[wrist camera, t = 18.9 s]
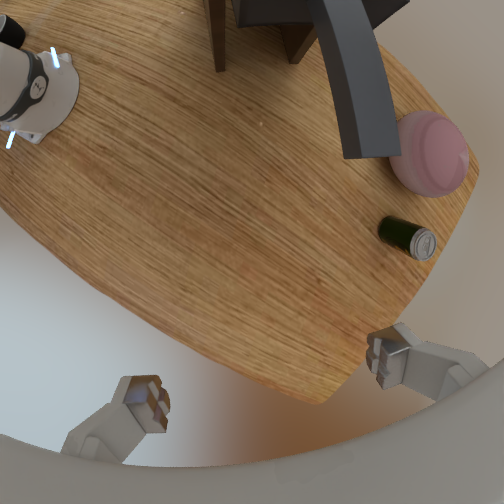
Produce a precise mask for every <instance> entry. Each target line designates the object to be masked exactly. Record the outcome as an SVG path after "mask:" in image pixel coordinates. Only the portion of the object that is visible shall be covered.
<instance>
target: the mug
mask: <svg viewBox="0 0 504 504" xmlns="http://www.w3.org/2000/svg"><path fill="white" fill-rule="evenodd" d="M24 38H25V32H24V30H23V28H22V27H21V26H20V25H19V24H18V23H17V22H16V21H14V20H13V19H12V18H10V17H8V16H7V15H0V42H2V43H4V44H7V45H9V46H11V47H13V48H16V49H19V47H20V46H21V45H22V43H23V41H24Z"/></svg>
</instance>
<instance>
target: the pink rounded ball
mask: <svg viewBox="0 0 504 504" xmlns="http://www.w3.org/2000/svg"><path fill="white" fill-rule="evenodd" d="M397 127H398V133H399V139H400V146H401V153H402V155H401V156H391V157H389V161H390V164H391V167H392V169H393V171H394V173H395V175H396V176H397V178H398V179H399V180H400V182H401V183H402V184H403V185H404V186H405V187H407V188H408V189H409V190H411V191H412V192H414V193H416V194H418V195H421V196H424V197H430V198H437V197H442V196H445V195H448V194H450V193H452V192H453V191H454V190H456V189H457V188H458V187H459V186H460V184H461V183H462V182H463V180H464V178H465V176H466V174H467V170H468V165H469V153H468V148H467V144H466V141H465V139H464V137H463V135H462V133H461V132H460V131H459V129H458V128H457V126H456V125H455V124H454V123H453V122H452V121H450V120H449V119H448V118H446V117H445V116H443V115H441V114H438V113H436V112H432V111H415V112H412V113H409V114H407V115H406V116H404V117H403V118H401V119H400V120H399V121H398V122H397Z"/></svg>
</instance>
